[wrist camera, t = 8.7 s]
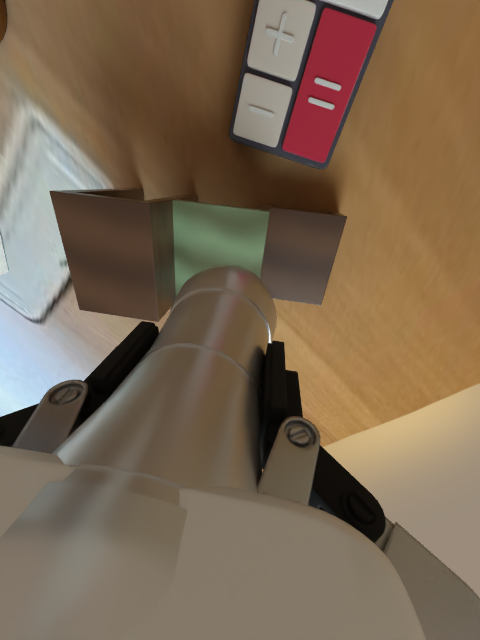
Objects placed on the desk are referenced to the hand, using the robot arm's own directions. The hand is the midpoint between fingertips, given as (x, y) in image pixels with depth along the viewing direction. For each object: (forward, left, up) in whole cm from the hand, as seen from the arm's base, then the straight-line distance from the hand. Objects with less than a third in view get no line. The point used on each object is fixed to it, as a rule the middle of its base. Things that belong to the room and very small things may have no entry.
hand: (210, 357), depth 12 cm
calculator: (-18, +3, -25) cm, 31 cm away
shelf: (0, -3, -25) cm, 25 cm away
